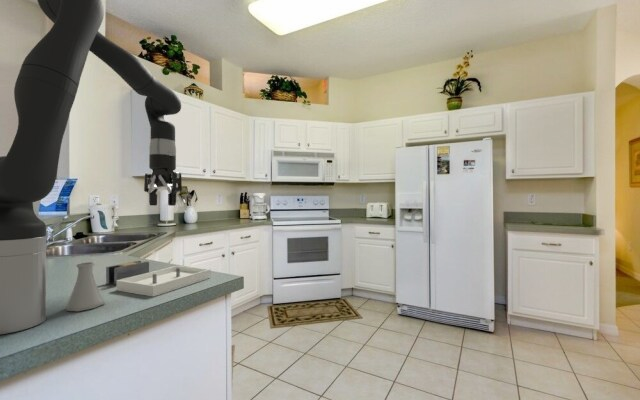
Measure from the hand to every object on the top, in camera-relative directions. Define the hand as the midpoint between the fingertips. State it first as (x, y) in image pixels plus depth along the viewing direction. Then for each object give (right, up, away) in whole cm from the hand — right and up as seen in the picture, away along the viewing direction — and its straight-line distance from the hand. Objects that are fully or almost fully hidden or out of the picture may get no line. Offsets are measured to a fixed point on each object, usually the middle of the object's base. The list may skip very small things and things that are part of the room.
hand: (162, 205), depth 96 cm
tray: (+5, -23, -7) cm, 25 cm away
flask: (-4, -23, -26) cm, 35 cm away
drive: (-9, -23, -4) cm, 25 cm away
